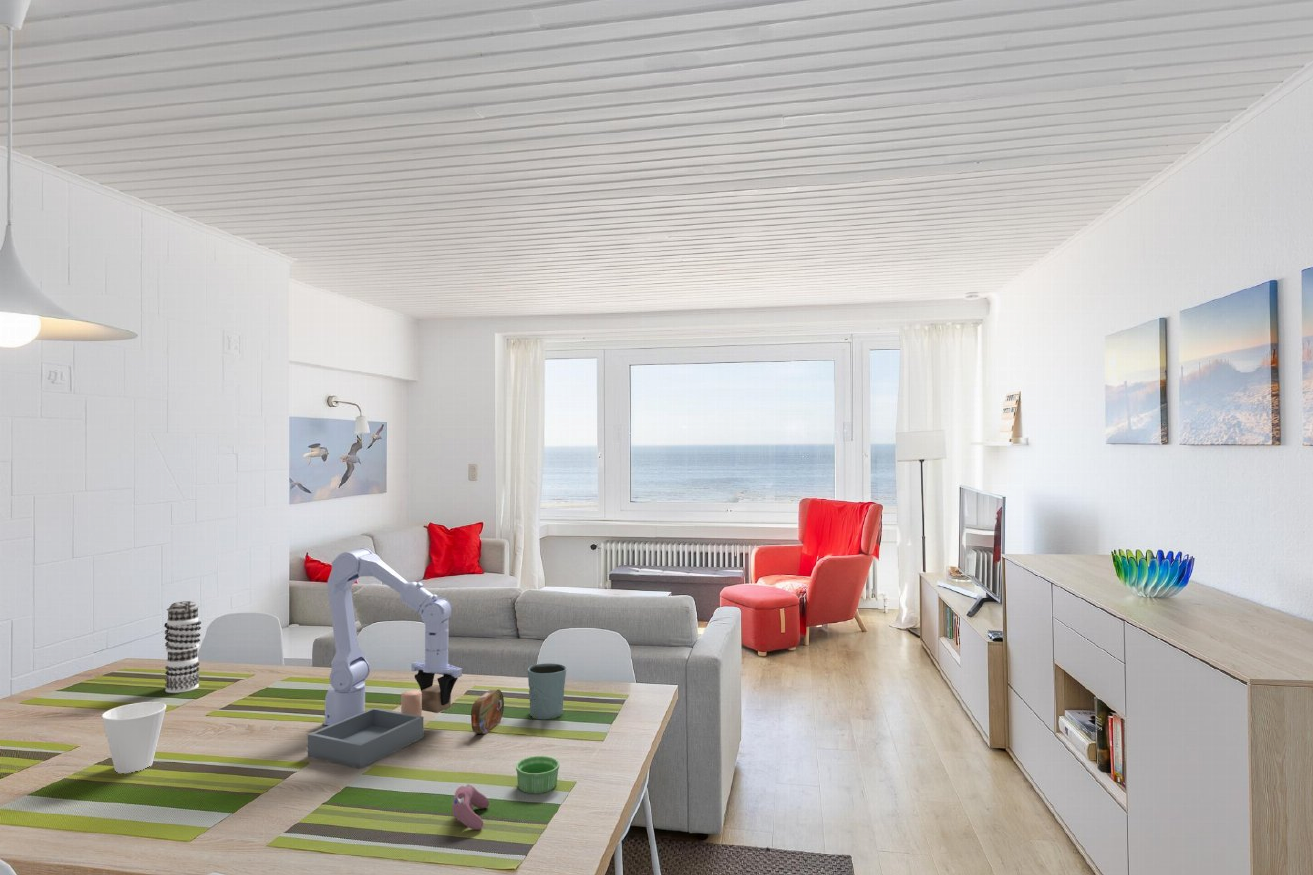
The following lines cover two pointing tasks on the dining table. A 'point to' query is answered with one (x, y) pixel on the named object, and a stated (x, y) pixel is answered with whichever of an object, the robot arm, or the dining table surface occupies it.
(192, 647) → the decorative candle
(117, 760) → the cup
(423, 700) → the cube
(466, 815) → the video game controller
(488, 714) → the tin
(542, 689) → the grey plant pot
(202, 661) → the dining table surface
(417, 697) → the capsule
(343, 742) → the tote
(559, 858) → the dining table surface
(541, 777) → the ramekin
